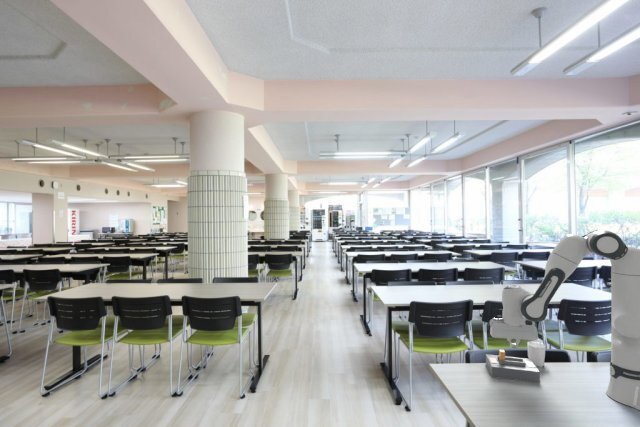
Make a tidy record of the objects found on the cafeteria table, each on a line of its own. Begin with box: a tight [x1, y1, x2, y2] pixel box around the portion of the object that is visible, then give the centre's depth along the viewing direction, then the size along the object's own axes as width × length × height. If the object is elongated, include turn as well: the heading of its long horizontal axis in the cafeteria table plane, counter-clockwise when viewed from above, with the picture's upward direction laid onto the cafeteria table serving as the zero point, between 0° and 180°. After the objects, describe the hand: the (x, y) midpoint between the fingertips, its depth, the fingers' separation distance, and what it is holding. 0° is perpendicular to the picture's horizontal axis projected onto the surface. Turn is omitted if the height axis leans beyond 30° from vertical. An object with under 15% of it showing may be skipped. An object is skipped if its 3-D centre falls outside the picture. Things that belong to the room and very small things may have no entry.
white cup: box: [526, 341, 546, 367], centre depth 172 cm, size 8×8×10 cm
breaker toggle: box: [498, 349, 506, 360], centre depth 163 cm, size 2×3×5 cm, turn 164°
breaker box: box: [485, 353, 541, 384], centre depth 162 cm, size 20×14×7 cm
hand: (513, 347), depth 162 cm, fingers closed
